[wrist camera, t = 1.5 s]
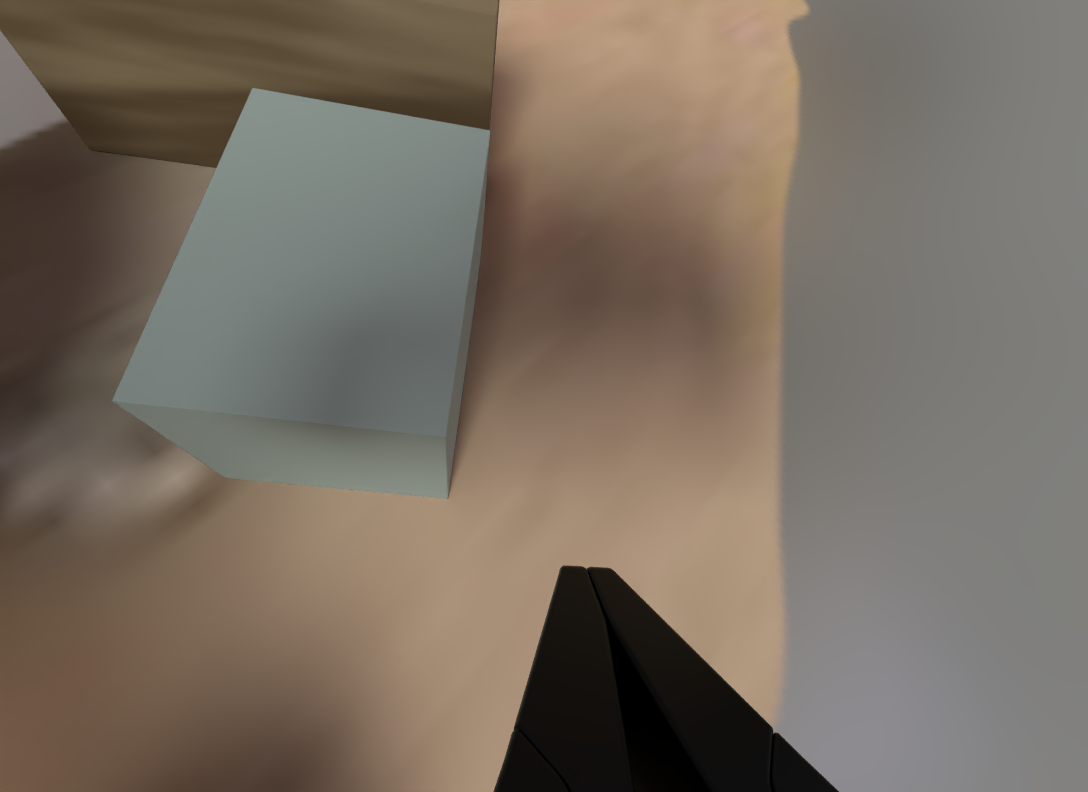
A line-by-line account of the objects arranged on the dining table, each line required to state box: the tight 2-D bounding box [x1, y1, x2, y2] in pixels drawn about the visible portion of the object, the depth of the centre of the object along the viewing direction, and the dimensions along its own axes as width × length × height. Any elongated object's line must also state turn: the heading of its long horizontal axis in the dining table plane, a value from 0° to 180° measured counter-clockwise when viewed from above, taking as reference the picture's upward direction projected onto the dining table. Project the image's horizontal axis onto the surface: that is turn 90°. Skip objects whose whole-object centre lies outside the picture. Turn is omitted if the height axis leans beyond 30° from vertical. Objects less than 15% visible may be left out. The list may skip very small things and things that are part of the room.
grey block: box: [112, 88, 491, 499], centre depth 21 cm, size 13×9×8 cm
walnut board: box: [0, 0, 499, 168], centre depth 24 cm, size 2×20×10 cm, turn 88°
